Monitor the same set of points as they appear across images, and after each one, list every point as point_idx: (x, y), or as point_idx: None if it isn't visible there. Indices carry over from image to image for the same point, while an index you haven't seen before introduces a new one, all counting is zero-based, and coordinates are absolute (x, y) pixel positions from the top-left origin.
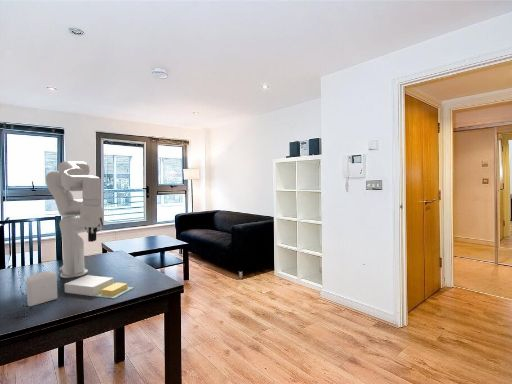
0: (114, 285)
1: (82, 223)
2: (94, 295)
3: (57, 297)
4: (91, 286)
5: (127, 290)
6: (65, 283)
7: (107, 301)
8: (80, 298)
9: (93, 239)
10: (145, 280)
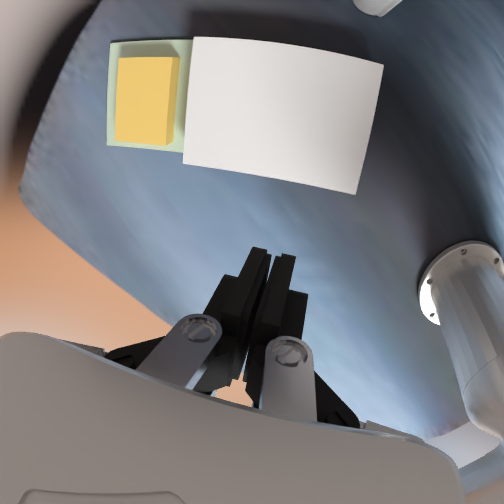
0: (150, 111)
1: (369, 500)
2: None
3: (355, 4)
4: (207, 41)
5: (108, 113)
6: (382, 69)
7: (121, 18)
8: (247, 11)
9: (228, 275)
10: (122, 225)
